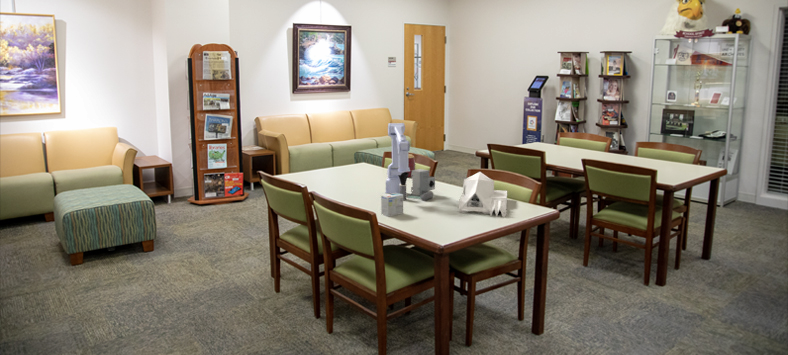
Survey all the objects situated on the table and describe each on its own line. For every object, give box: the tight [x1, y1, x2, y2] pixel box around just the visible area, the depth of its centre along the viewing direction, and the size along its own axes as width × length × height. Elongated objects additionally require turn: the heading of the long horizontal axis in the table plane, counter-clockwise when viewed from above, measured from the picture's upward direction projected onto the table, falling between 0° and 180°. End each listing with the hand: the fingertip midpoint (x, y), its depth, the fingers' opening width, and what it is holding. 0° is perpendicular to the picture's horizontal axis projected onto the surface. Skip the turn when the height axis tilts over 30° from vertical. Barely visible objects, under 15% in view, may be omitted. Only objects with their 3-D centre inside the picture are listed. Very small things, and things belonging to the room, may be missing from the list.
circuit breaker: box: [410, 168, 436, 196], centre depth 351 cm, size 8×14×15 cm, turn 50°
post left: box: [399, 183, 407, 201], centre depth 340 cm, size 4×4×9 cm
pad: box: [406, 194, 421, 200], centre depth 347 cm, size 9×5×1 cm, turn 67°
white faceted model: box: [457, 171, 508, 218], centre depth 324 cm, size 42×27×17 cm, turn 168°
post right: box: [420, 190, 435, 202], centre depth 341 cm, size 4×4×9 cm
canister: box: [407, 153, 416, 178], centre depth 409 cm, size 13×13×18 cm
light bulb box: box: [380, 193, 404, 218], centre depth 308 cm, size 11×7×11 cm, turn 128°
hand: (403, 185), depth 332 cm, fingers closed
